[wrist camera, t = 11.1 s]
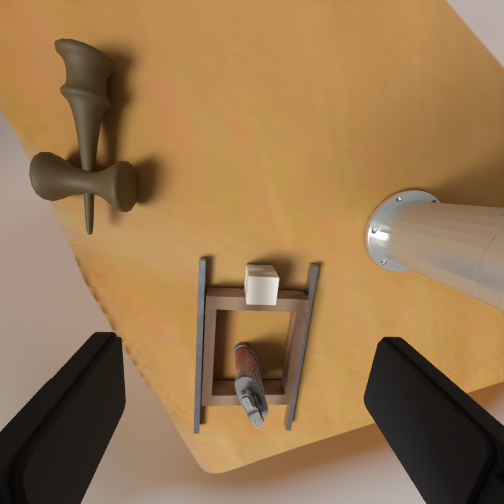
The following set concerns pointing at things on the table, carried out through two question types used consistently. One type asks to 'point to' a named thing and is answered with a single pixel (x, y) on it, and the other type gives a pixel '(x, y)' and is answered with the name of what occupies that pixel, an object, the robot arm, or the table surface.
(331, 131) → the table surface
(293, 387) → the sliding frame
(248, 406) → the lighter
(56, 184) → the kendama
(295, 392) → the guide rails
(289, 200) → the table surface
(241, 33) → the table surface
